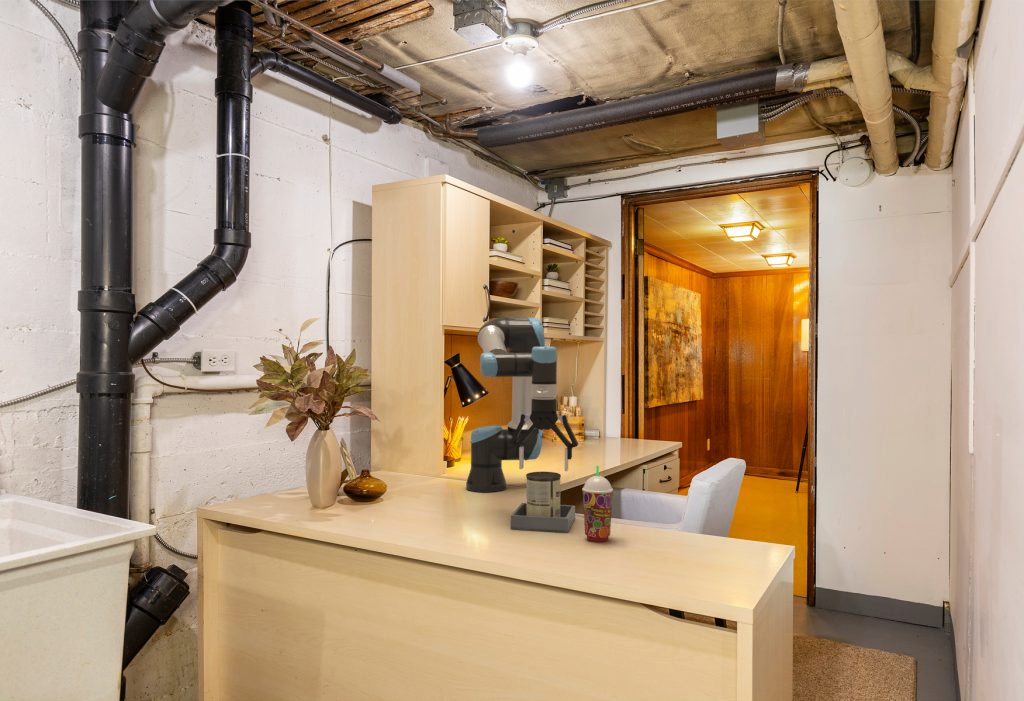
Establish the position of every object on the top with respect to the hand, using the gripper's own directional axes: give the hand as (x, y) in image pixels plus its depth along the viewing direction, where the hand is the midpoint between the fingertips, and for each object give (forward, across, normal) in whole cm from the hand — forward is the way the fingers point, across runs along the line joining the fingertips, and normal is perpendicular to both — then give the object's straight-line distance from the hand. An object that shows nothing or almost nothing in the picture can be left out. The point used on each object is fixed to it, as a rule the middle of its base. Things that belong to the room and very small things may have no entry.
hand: (543, 469), depth 196 cm
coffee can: (+16, 0, -1) cm, 16 cm away
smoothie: (+16, +17, -14) cm, 27 cm away
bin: (+16, 0, -1) cm, 16 cm away
